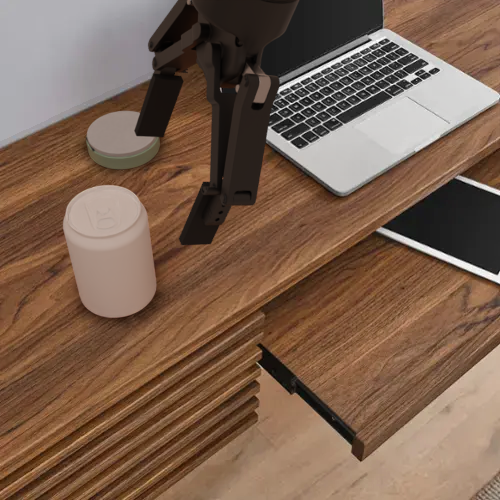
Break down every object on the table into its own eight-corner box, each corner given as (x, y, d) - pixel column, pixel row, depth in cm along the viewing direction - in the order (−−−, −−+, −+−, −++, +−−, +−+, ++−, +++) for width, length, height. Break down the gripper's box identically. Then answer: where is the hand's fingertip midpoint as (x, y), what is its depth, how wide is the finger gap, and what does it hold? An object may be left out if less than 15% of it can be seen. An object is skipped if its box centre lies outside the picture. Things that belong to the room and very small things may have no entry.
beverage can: (150, 257, 85) (138, 175, 76) (163, 312, 79) (152, 231, 71) (76, 271, 83) (56, 189, 75) (84, 328, 78) (64, 247, 69)
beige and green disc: (101, 177, 94) (99, 162, 92) (78, 136, 100) (75, 121, 98) (171, 156, 97) (169, 141, 95) (144, 117, 102) (143, 102, 101)
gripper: (378, 79, 48) (258, 291, 62) (240, -109, 62) (167, 98, 76) (277, 69, 45) (173, 297, 59) (155, -129, 59) (95, 93, 73)
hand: (170, 185), depth 67 cm, fingers open, 13 cm apart
